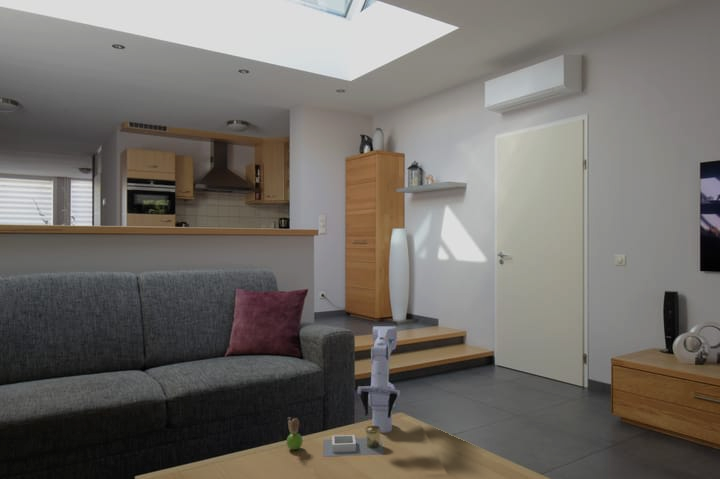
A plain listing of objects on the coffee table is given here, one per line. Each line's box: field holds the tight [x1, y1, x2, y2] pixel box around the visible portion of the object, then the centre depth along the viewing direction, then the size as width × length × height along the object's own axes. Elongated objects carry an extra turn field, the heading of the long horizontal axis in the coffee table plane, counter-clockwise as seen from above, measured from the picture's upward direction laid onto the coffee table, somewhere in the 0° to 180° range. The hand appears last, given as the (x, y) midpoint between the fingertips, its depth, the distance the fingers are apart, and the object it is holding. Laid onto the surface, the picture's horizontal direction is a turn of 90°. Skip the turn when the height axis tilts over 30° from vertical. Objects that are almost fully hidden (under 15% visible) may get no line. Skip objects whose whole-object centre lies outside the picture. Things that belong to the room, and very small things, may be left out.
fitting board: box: [322, 434, 385, 458], centre depth 169 cm, size 14×20×4 cm
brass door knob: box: [365, 424, 380, 448], centre depth 170 cm, size 5×5×6 cm
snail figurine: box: [286, 417, 304, 451], centre depth 170 cm, size 5×6×12 cm
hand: (377, 415), depth 166 cm, fingers open, 7 cm apart
